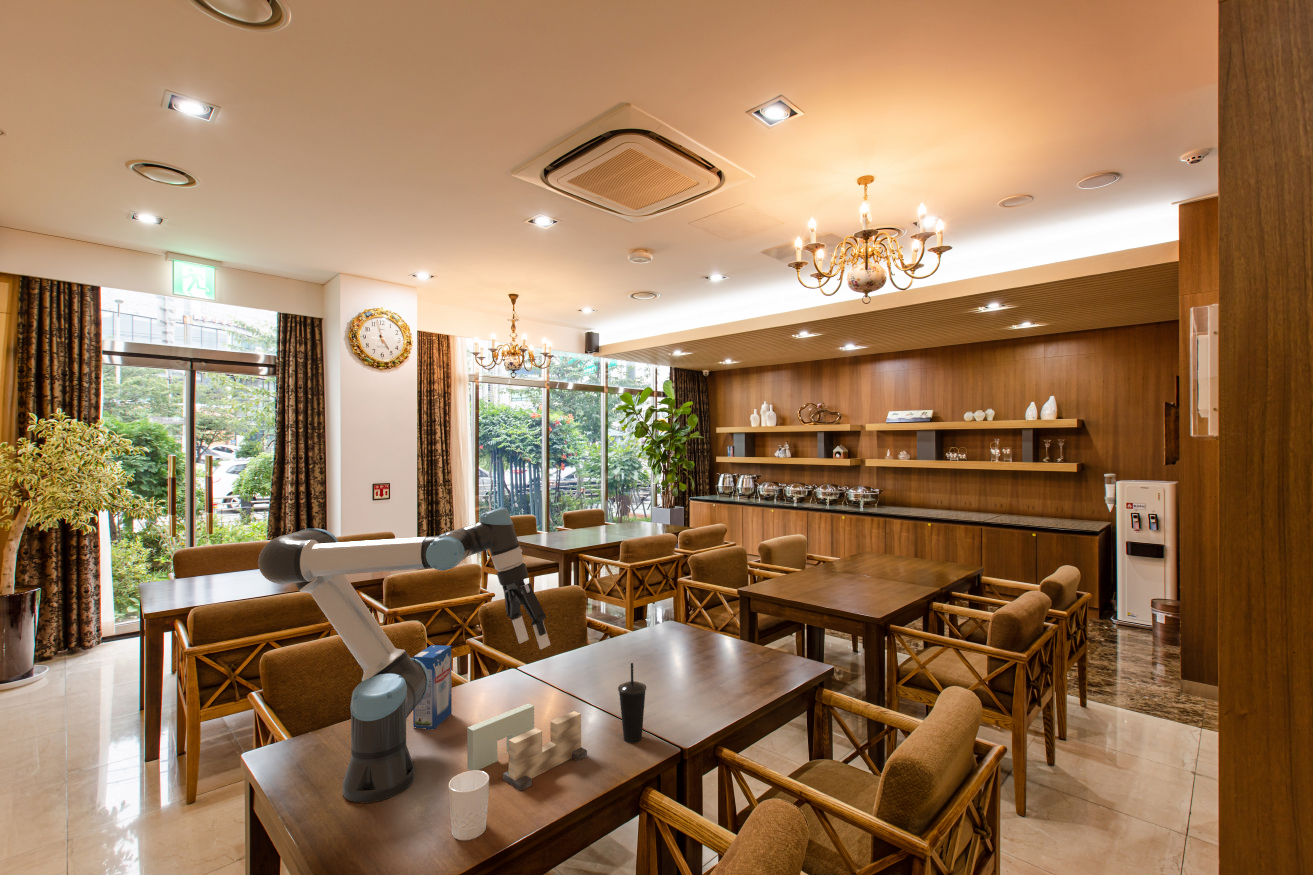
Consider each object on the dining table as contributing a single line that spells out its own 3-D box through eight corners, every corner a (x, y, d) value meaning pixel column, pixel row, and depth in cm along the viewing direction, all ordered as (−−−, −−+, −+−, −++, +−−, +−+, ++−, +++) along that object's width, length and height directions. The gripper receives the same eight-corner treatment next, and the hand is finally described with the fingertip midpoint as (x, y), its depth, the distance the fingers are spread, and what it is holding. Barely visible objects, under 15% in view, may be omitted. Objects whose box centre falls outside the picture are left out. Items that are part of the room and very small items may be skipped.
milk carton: (433, 729, 163) (433, 657, 164) (413, 728, 164) (413, 656, 165) (451, 713, 173) (451, 645, 173) (432, 712, 174) (432, 644, 174)
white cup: (475, 813, 125) (474, 765, 126) (497, 827, 120) (496, 778, 121) (441, 831, 119) (441, 782, 119) (463, 848, 114) (462, 796, 114)
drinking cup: (621, 747, 152) (621, 669, 153) (615, 733, 160) (615, 659, 160) (650, 743, 154) (649, 666, 155) (643, 729, 162) (642, 656, 162)
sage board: (473, 772, 141) (472, 730, 141) (467, 768, 143) (467, 727, 143) (534, 743, 155) (534, 705, 155) (528, 740, 156) (528, 703, 157)
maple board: (520, 790, 133) (520, 746, 134) (503, 779, 138) (502, 736, 138) (587, 755, 148) (586, 716, 148) (569, 746, 153) (568, 708, 153)
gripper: (543, 560, 145) (568, 642, 145) (505, 561, 165) (528, 633, 165) (515, 572, 141) (541, 656, 141) (480, 571, 161) (503, 645, 161)
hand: (534, 644), depth 153 cm, fingers open, 13 cm apart
